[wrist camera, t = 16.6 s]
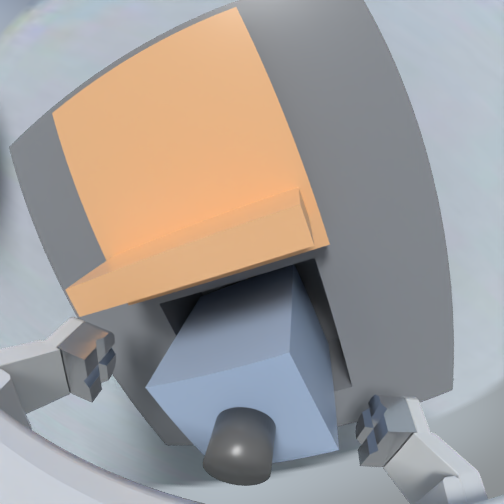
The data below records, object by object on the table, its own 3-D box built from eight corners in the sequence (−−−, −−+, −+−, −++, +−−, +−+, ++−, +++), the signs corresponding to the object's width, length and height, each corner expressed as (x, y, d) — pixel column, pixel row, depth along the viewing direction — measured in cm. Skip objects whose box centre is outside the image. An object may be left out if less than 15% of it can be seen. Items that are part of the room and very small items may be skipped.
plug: (248, 350, 15) (207, 505, 7) (209, 281, 14) (122, 426, 6) (326, 325, 14) (341, 491, 6) (293, 248, 13) (285, 402, 5)
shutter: (136, 297, 10) (89, 347, 7) (63, 113, 8) (-4, 113, 6) (327, 238, 9) (342, 283, 6) (239, 14, 7) (213, -39, 4)
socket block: (187, 396, 17) (166, 445, 14) (64, 141, 13) (8, 147, 9) (426, 340, 14) (452, 389, 10) (333, 16, 10) (346, -28, 6)
